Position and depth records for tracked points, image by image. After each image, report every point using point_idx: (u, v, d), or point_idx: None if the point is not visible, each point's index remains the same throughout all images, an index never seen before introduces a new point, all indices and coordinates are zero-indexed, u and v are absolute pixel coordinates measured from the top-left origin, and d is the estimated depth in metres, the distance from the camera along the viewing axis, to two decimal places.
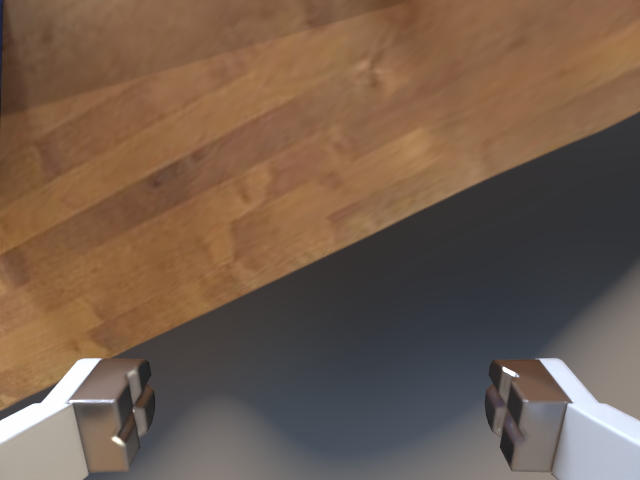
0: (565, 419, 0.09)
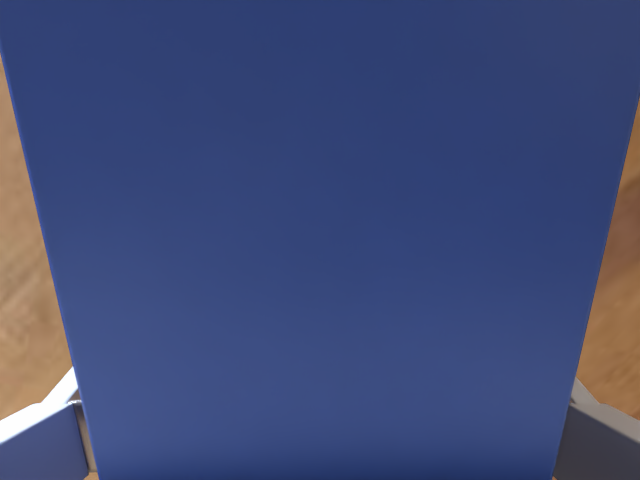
0: None
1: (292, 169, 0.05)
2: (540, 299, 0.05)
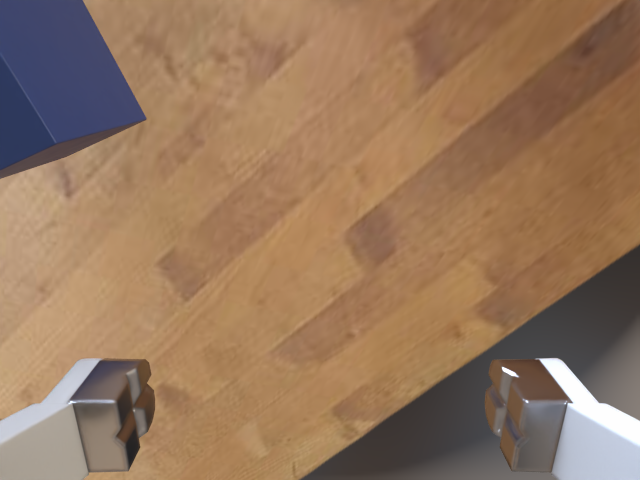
0: (565, 419, 0.09)
1: None
2: None
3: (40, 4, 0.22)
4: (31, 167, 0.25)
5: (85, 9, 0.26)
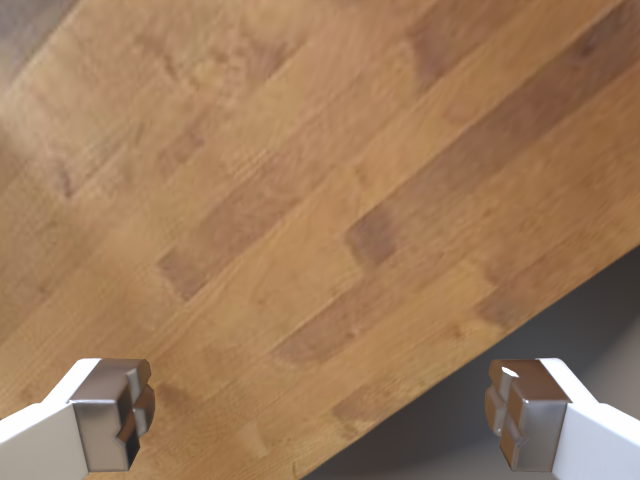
0: (565, 419, 0.09)
1: None
2: None
3: None
4: None
5: None
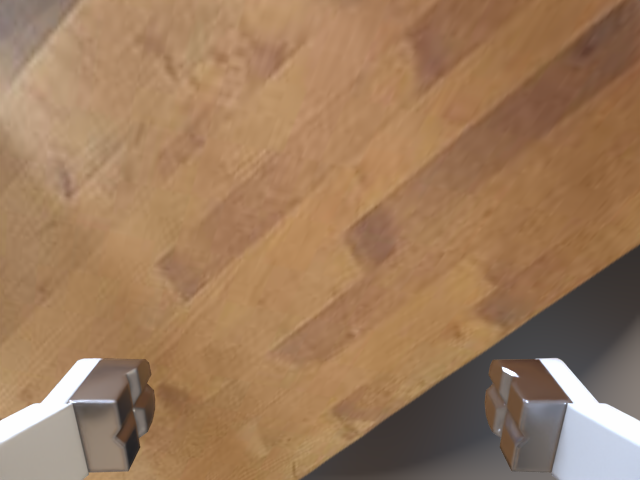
0: (565, 419, 0.09)
1: None
2: None
3: None
4: None
5: None
